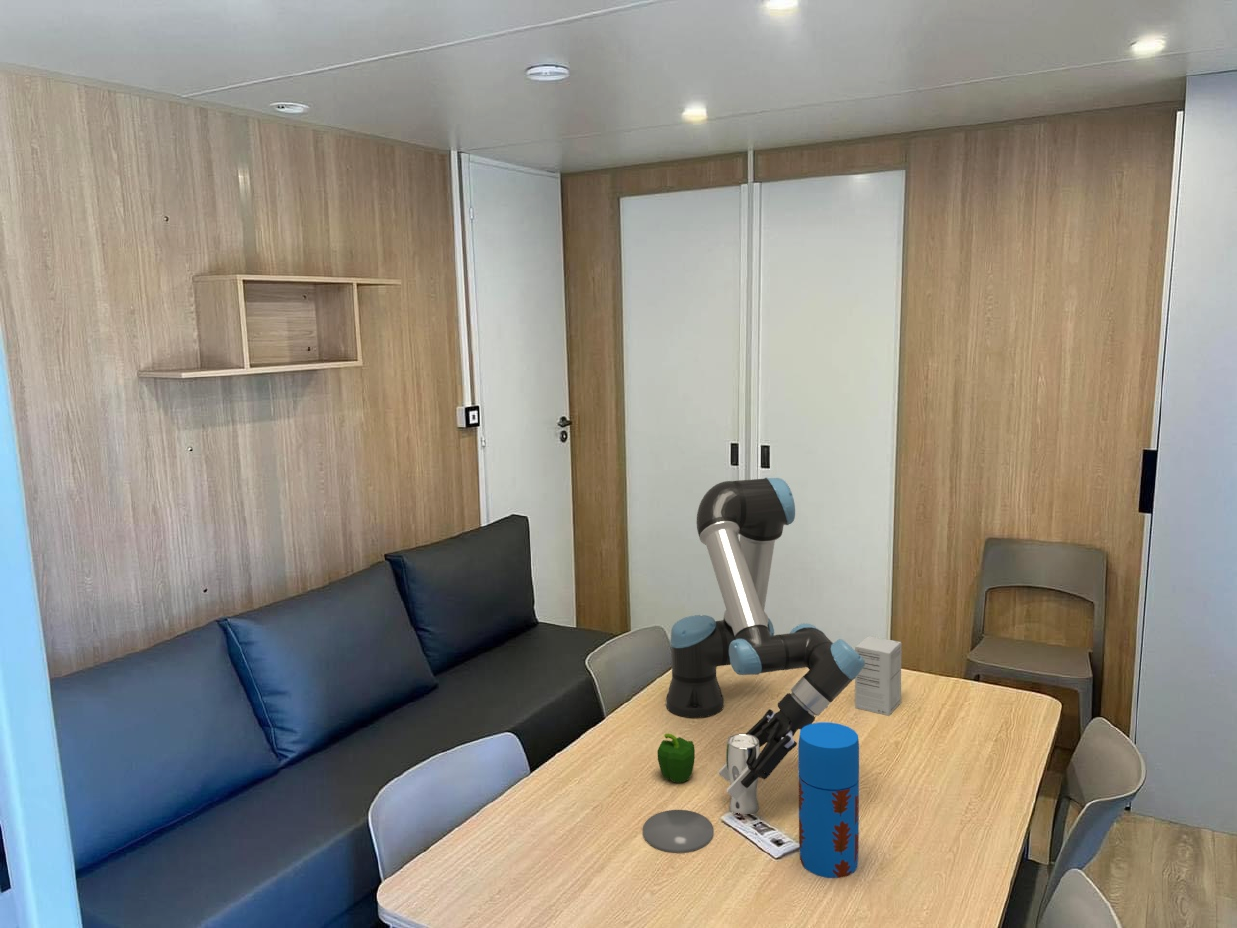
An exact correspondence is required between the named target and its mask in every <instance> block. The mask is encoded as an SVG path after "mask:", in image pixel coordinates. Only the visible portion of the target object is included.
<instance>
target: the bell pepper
mask: <svg viewBox="0 0 1237 928" xmlns="http://www.w3.org/2000/svg"><path fill="white" fill-rule="evenodd" d="M664 738H665V739H666V740H664V739H662V740H661V743H660V745H659V747H658V749H657V753H656V754H657V762H658V765H659V769H660V773H661V775H662V777H664V778H665V779H666V780H671V782H673V783H684V782H687V781H688V780H689V779H690V777H691V776H692V774H693V770H694V765H695V758H696V757H695V756H696V755H695V753H696V752H695V745H694V742H693V741H691V740H686V739H684V738H683V737H680V736H679V737H677V736H675V735H674V734H672V733H665V734H664ZM667 739H671V740H667Z"/></svg>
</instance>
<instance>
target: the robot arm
mask: <svg viewBox="0 0 1237 928" xmlns="http://www.w3.org/2000/svg"><path fill="white" fill-rule="evenodd" d="M795 519H796V505H795V500H794V497H793V492H792V491H791V488H790V487H789V485H788V483H787V482H786V480H784V479H783V478H780V477H764V478H756V479H754V478H753V479H742V480H726V481H722V482H719V483H717V484H715V485H714V486H712V487H711V488H710V489H708V491H706V493H705V494H704V496H703V497H702V499H701V500H700V502H699V505H698V510H697V512H696V530H697V534H698V536H699V540H700V542H701V544H703V545H706V549H707V553H708V556H709V558H710V562H711V564H712V568H713V571H714V575H715V578H716V580H717V585H718V587H719V590H720V594H721V598H722V601H723V604H724V606H725V611H724V613H723V619H722V620H715V619H714V617H712V616H711V615H704V614H703V615H700V614H697V615H690V616H687V617H683V618H681V619H679V620H677V621H676V622H674V624H673V625H672V627H671V630H670V640H669V641H670V649H671V650H670V652H671V680H670V683H669V689H668V693H667V694H666V696H665V704H666V709H667V710H668V711H669V712H670V713H672V714H674V715H676V716H680V717H683V718H693V719H694V718H695V717H699V718H706V716H707V717H711V716H714V715H716V713H717V712H718V713H720V712H721V711H723V709H724V706H725V704H724V703H725V702H724V695H723V693H722V689H721V687H720V684H719V681H718V679H717V667H723V666H731V668H732V670H733V671H734V673H735V674H737V675H739V676H748V675H749V676H753V675H755V676H756V675H757V676H758V675H759V674H765V673H771V672H778V671H789V670H796V669H803V668H804V669H805V668H806V669H808V671H807V672H806V673H805V674H804V675H803V676H802V677H801V678H800V679H799V680H798V681H797V682H796V683H795V685H793V686H792V687H791V689H790V692H789V693H786V694H785V695H784V696H783V697H782V699H780V701H778V702H777V708H778V710H779V711H777V712H774V711H773V710H772V709H771V708H770V709H769V708H768V709H767V711H766V712H765V714H763V716H762V717H761V718H760V719H759V720H758V721H757V722H756V723H755V724H754V725H753V726H752V727H750V728H751V729H749V730H748V731H747V732H746V733H745V734H749V735H752V736H755V737H756V738H758V740H759V747H760V748H762V746H764V745H765V746H764V747H763V748H762V750H761V751H760V754H759V756H758V757H757V759H756V760H755V762H754V763H753V765H752V767H751V766H749V765H748V768H747V769H746V770H745V771H744V772H743V773H742V774H741V775H740V776H739V777H738V778H737V779H736V780H735V781H734V782H733V783H732V784H731V785H730V784H729V786H728V787H727V788H726V793H728V794H729V795H730V797H731V796H732V797H734V798H735V799H736V800H737V799H738V798H739V797H740V795H741V794H742V793H743V792H744V791H745V790H746V789H747V788H748V787H749V786H750V785H751V784H752V783H753V782H754V781H755V780H756V779H757V778H758V777H759V778H761V779H763V781H765V780H767V778H768V777H769V776H771V773H773V772H774V770H775V769H776V768H777V767H778V766H779V764H780V763H781V762H782V761H783V760H784V758H785V757H786V756H787V755H788V754H789V752H791V751H792V750H794V748H796V746H797V744H798V743H797V742H796V741H795V740H794V736H795V735H796V733H797V731H798V730H799V731H800V730H801V729H802V728H803V727H804V726H807V725H809V724H813V723H814V722H815V721H816V720H815V719H816V717H815V716H818V717H819V716H820V715H821V714H822V713H823V712H824V711H825V709H828V707H829V705H830V704H831V703H833V701H834V700H835V699H836V698H837V697H838V696H839V695H840V694H841V693H842V692H843V691H844V690H845V689H846V687H848V686H849V685H850V683H851V682H852V681H855V678H856V676H857V675H858V674H859V672H860V671H861V670H862V669H863V667H864V666H865V660H864V659H863V658H862V657H861V656H860V655H859V654H858V653H857V652H856V651H855V648H853V647H852V646H851V645H850V644H848V643H847V642H846V640H844V639H842V638H839V639H837V640H836V641H835V642H832V641H831V639H829V637H828V636H826V634H825V632H823V631H822V630H820V629H819V628H817V627H816V626H815V625H814V624H811V623H805V622H804V623H800V624H798V625H797V626H795V627H793V628H791V631H790V632H789V633H781V634H775V629H774V625H773V622H772V621H771V619H770V618H769V616H768V614H767V613H766V611H765V608H766V607H765V606H766V600H767V594H768V587H769V581H770V575H771V568H772V562H773V556H774V555H773V554H774V549H775V542H776V541H777V540H780V538H781V537H782V535H783V531H784V527H785V526H789V525H791V524H792V523H794V522H795ZM738 535H739V536H738ZM722 708H723V709H722ZM720 710H721V711H720ZM719 711H720V712H719ZM718 713H717V714H718ZM713 714H714V715H713ZM717 773H718V775H719V776H720V777H722V779H724V780H725V781H726V782H729V777H728V772H727V764H726V763H725V764H724V765H723V766H721V768H720V769H719V770H718V771H717Z"/></svg>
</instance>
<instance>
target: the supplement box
mask: <svg viewBox="0 0 1237 928" xmlns="http://www.w3.org/2000/svg"><path fill="white" fill-rule="evenodd" d="M902 644H903V643H902V641H897V640H892V639H885V638H881V637H876V636H871V635H867V636H866V637H865V638H864V639H863V640H862V641H861V642H859V643H858V644H857V645H856V646H854V650H855V651H856V652H857V653H858V654H859V655H860V656H861V657H862V658H863V659H864V660H865V666H864V667H863V669H862V670H861V671H860V672H859V674H858V675H857V676H856V678H855V679H854V708H855V709H858V710H862V711H863V710H864V711H866V710H867V712H870V713H871V712H872V713H876V714H880V715H884V716H888V717H889V716H890V715H891V714H892V713H893V712H894V711H895V710H896V709H897V707H898V706H899V705H900V704H901V702H902V648H903V647H902Z"/></svg>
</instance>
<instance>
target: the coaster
mask: <svg viewBox="0 0 1237 928" xmlns="http://www.w3.org/2000/svg"><path fill="white" fill-rule="evenodd" d="M642 835H643V839H644V838H645V839H644V840H645V842H646V841H647V842H648V843H649V844H650V846H651V847H652V846H653V847H652V848H654V849H656V850H659V851H662V852H665V853H673V854H685V853H691V852H695V851H698V850H700V849H703V848H705V847H706V846H707V845H708V844H710V843H711V841H712V839H713V838H714V826H713V824H712V822H711V821H710V819H708V817H706V816H704V815H703V814H701V813H699V812H695V811H692V810H686V809H669V810H664V811H661V812H657V813H655V814H653V815H652V816H649V818H647V820H645V822H644V823H643V825H642ZM647 842H646V843H647ZM648 843H647V844H648ZM649 844H648V845H649Z"/></svg>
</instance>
